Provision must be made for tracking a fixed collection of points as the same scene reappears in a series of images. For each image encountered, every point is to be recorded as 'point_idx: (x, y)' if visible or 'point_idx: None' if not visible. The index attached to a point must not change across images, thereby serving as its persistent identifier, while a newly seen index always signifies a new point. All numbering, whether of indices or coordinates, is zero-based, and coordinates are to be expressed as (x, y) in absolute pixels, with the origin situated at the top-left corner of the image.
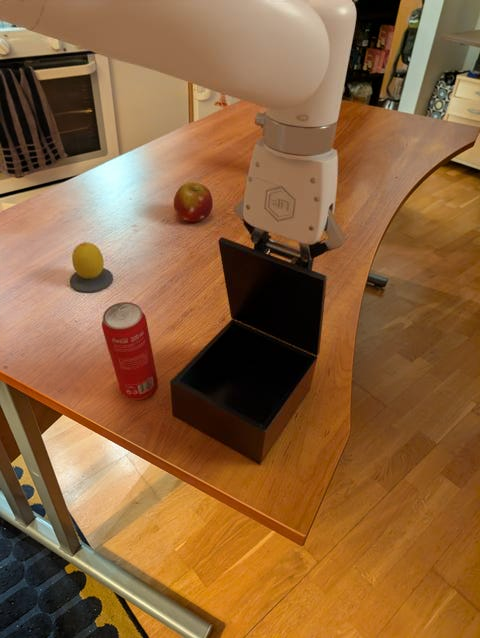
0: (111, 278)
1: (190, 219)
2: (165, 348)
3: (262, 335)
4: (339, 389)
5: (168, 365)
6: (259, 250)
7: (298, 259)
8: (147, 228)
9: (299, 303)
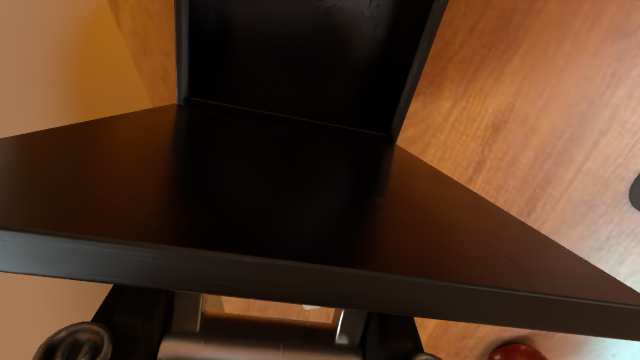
0: (634, 196)
1: (515, 348)
2: (500, 70)
3: (314, 122)
4: (160, 99)
5: (486, 28)
6: (385, 320)
7: (146, 327)
8: None
9: (159, 144)
